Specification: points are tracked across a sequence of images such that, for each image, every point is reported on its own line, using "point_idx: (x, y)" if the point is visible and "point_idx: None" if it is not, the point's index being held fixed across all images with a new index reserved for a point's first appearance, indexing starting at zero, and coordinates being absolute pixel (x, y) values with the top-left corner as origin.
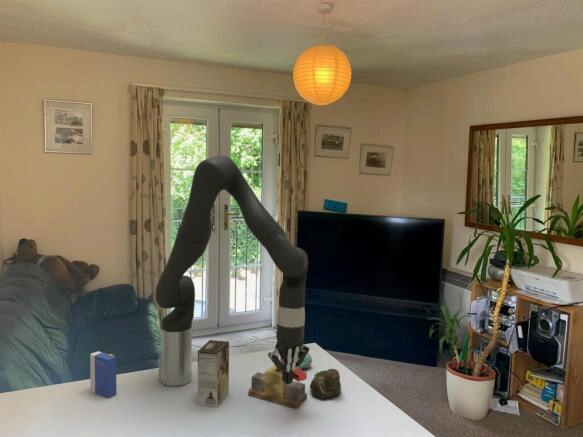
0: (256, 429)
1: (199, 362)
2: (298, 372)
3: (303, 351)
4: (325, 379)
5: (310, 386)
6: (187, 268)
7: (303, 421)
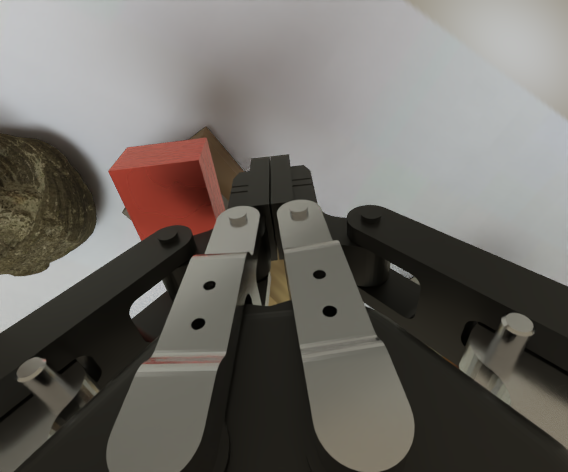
0: (449, 57)
1: None
2: (178, 205)
3: (42, 367)
4: None
5: (91, 223)
6: None
7: (222, 6)
